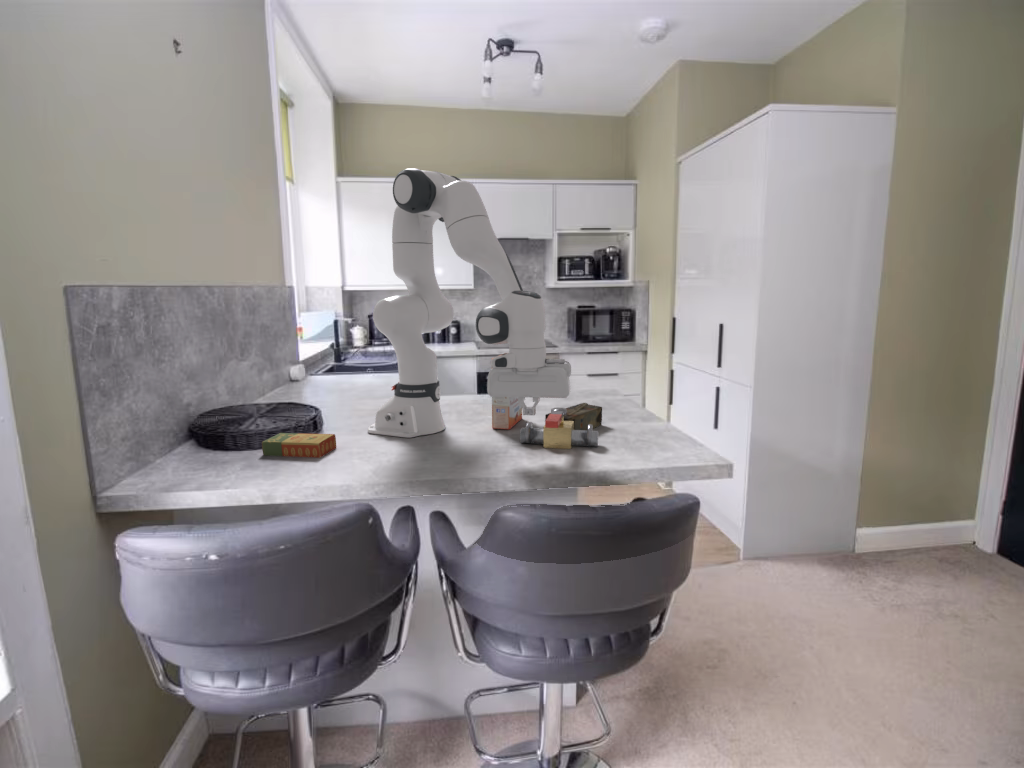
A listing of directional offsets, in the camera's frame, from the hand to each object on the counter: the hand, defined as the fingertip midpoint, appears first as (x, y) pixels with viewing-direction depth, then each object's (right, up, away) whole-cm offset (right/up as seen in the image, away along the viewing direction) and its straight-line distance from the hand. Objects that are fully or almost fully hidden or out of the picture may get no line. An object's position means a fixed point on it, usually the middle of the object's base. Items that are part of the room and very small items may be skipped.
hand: (529, 414), depth 127 cm
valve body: (+8, -8, +8) cm, 14 cm away
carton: (-59, -10, +7) cm, 60 cm away
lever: (+7, -1, +2) cm, 7 cm away
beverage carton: (+14, -6, +21) cm, 26 cm away
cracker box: (-5, -5, +30) cm, 30 cm away
